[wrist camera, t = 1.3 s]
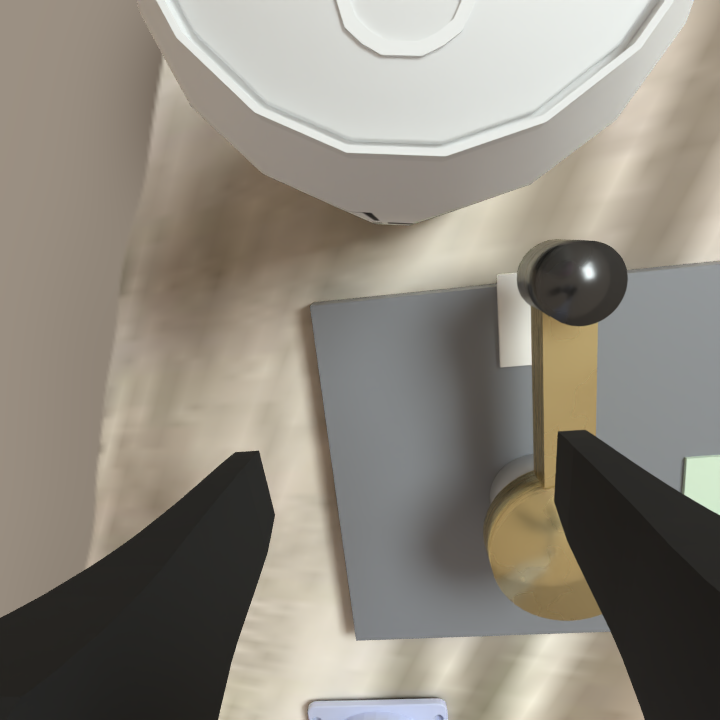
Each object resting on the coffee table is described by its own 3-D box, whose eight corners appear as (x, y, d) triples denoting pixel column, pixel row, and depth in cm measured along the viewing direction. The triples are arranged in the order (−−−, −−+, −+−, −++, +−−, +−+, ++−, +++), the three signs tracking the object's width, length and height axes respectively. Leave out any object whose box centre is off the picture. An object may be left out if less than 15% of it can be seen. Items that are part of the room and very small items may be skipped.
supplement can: (299, 5, 18) (-35, -819, 4) (513, 9, 18) (1004, -897, 4) (297, 220, 21) (76, 193, 6) (488, 229, 20) (732, 221, 6)
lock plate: (764, 609, 24) (857, 704, 19) (357, 625, 26) (349, 714, 21) (812, 239, 19) (951, 241, 15) (311, 291, 21) (288, 308, 17)
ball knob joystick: (626, 584, 20) (663, 639, 18) (485, 591, 21) (499, 644, 18) (641, 229, 16) (689, 229, 14) (467, 248, 17) (481, 252, 14)
